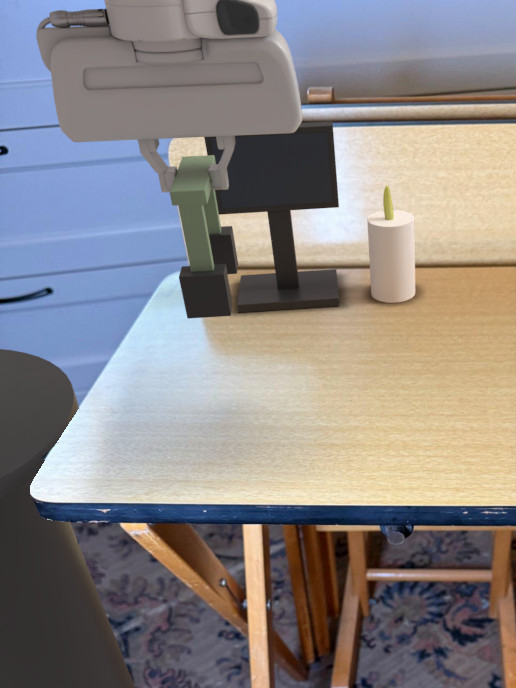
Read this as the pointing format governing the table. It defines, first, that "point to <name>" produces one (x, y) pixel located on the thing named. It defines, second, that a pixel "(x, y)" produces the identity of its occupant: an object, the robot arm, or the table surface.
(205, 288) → the headphones
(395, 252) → the candle
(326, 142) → the monitor
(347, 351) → the table surface
